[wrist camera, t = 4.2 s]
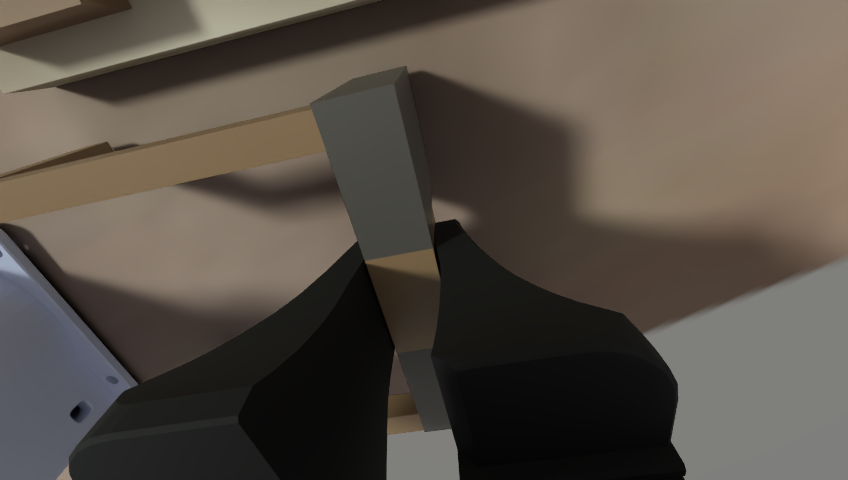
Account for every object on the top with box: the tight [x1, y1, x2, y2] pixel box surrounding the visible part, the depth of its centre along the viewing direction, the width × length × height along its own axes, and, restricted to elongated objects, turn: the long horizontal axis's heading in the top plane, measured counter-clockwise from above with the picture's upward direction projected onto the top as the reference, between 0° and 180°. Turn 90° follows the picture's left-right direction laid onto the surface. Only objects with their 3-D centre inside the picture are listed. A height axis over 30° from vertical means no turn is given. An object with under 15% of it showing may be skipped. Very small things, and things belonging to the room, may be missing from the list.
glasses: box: [0, 66, 452, 435], centre depth 11 cm, size 10×11×4 cm
